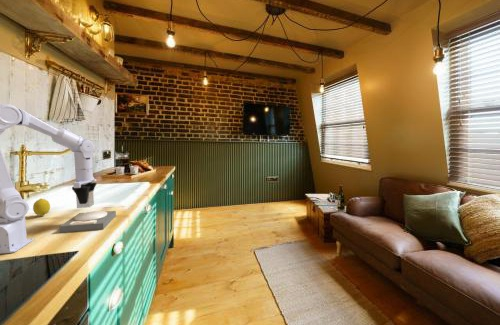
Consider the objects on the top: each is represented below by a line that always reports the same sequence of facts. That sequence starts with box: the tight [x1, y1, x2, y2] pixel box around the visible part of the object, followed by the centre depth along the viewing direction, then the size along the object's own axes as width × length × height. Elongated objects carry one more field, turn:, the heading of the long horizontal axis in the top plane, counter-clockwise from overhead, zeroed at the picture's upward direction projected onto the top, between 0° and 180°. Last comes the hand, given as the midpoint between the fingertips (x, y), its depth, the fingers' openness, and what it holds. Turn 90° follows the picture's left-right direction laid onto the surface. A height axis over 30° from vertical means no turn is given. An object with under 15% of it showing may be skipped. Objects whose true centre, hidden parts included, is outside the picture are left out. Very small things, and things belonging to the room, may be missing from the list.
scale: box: [59, 210, 117, 234], centre depth 93 cm, size 16×14×3 cm
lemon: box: [32, 198, 51, 217], centre depth 101 cm, size 6×6×8 cm
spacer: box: [75, 190, 95, 209], centre depth 93 cm, size 4×4×6 cm
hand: (85, 202), depth 94 cm, fingers closed on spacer, 4 cm apart
